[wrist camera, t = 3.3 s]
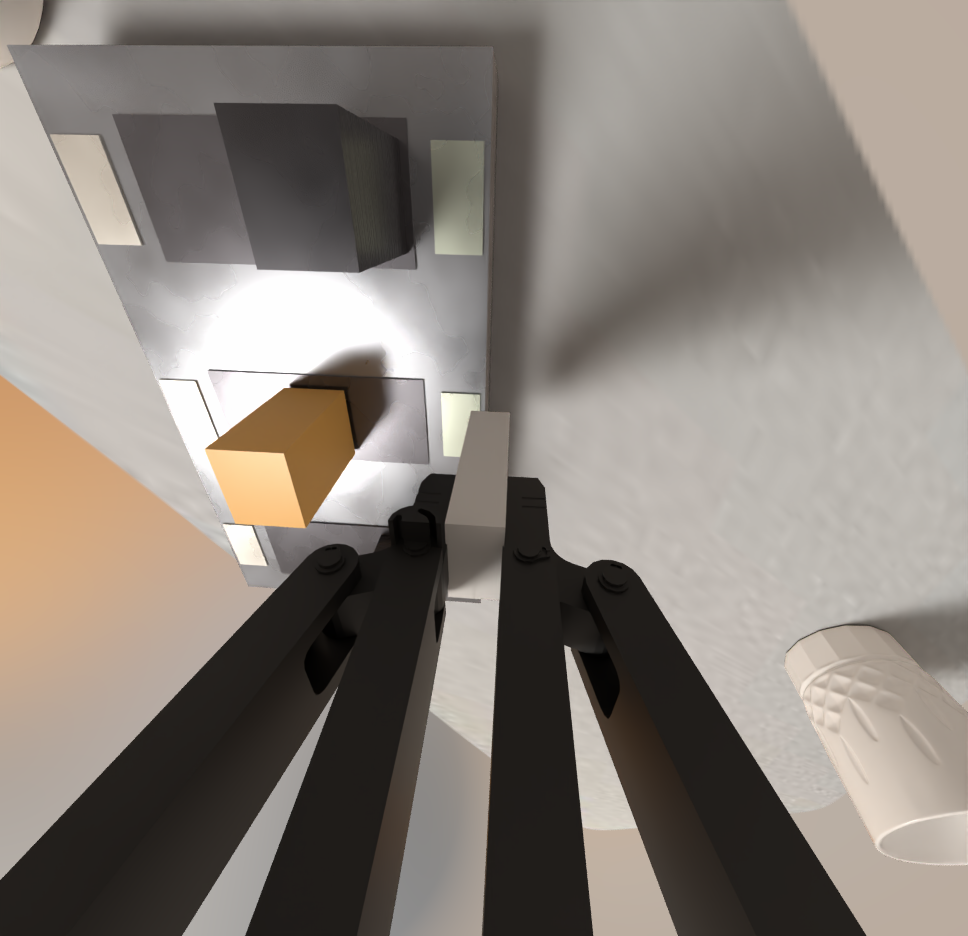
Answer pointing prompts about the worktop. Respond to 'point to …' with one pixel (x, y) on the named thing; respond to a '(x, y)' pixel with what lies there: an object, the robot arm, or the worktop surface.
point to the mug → (18, 25)
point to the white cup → (889, 740)
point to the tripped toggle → (284, 457)
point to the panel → (304, 297)
